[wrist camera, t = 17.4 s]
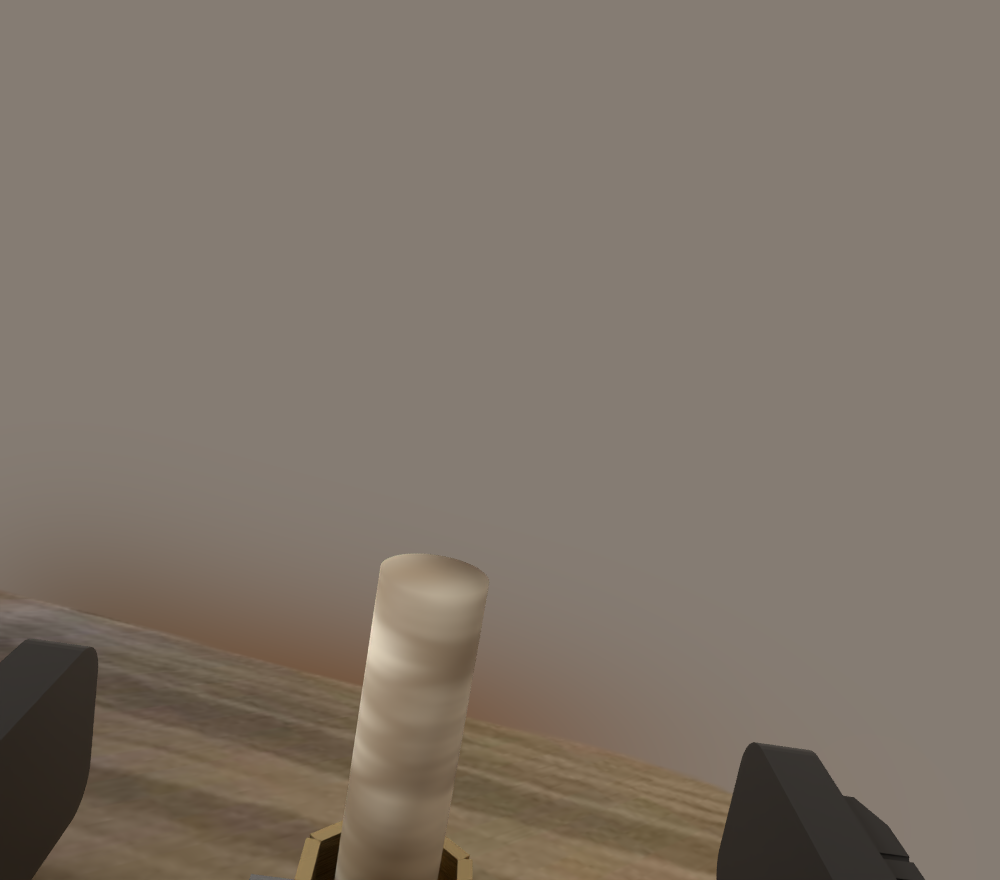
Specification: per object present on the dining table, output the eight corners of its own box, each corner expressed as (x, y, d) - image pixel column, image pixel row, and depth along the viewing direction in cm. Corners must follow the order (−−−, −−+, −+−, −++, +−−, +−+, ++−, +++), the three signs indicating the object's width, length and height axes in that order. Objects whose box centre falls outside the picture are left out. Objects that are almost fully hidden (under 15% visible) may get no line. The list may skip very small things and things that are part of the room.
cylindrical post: (303, 951, 37) (358, 569, 34) (365, 896, 41) (419, 546, 37) (386, 1003, 35) (453, 605, 32) (443, 941, 39) (508, 577, 35)
